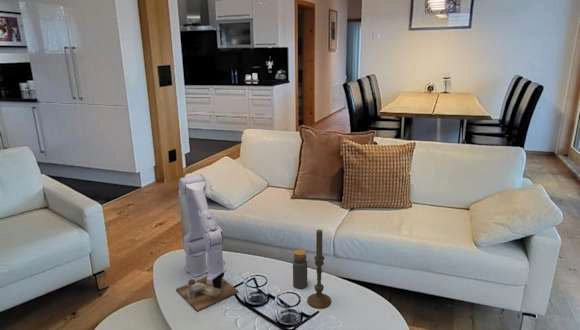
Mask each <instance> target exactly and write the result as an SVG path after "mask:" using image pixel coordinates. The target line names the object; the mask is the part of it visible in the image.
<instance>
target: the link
mask: <svg viewBox="0 0 580 330" xmlns="http://www.w3.org/2000/svg"><path fill="white" fill-rule="evenodd" d="M187 281H188V282H187V284H188V288H190V287H193V286H196V285H198V284H201V283H198V282H195V281H196V280H195V279H193V278H192V279H189V280H187ZM201 285H202V286H203V287H204V289H202V290H200V291H197V292H199V293H202V294H206V295H209V296H212V297H215V298H216V297H218V296H219V295H220V294H221V289H218V288H215V287H212V286H208V285H205V284H201Z"/></svg>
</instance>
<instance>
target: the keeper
mask: <svg viewBox="0 0 580 330" xmlns="http://www.w3.org/2000/svg"><path fill="white" fill-rule="evenodd" d="M202 289H204V287H203V286H202V285H201V284H198V285H196V286H193V287H190V288H187V289H186V291H187V297H188V299H189V300H193V299H195V293H194V292H197V291H200V290H202Z"/></svg>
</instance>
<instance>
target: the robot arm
mask: <svg viewBox="0 0 580 330" xmlns="http://www.w3.org/2000/svg"><path fill="white" fill-rule="evenodd" d="M178 188H179V193H180V196H183V198H184V201H185V207H186V216H187V225H188V232H187V233H186V234H185V235H184V236H183V238H182V239H183V245H182V246H183V251H184V253H185V263H186V267H184V270H185V271H186V272H187V273H188V274H190V275H191V276H192V277H193V278H197V277H199V276H201V275H204V274H207V276H208V277H207V276H206V277H207V279H206V281H207V284H212V283H213V286H214V287H215V288H218V289H221V283H222V279H224V275H225V273H226V272H227V268H225V265H226V260H224V259H223V245H222V243H224V241H225V235H224V233H223V232H224V231H223V230H222V228H221V227H220V225H218V223H217V220H216V217H215V215H214V212H213V211H210V209H209V205H208V202H207V201H208V200H207V198H206V194H205V193H206V189H207V179H206V176H205V175H204V174H203V173H201V174H197V175H191V176H186V177H180V178H179V179H178ZM201 228H202V229H201Z"/></svg>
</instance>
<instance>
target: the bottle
mask: <svg viewBox="0 0 580 330" xmlns="http://www.w3.org/2000/svg"><path fill="white" fill-rule="evenodd" d="M293 252H294V253H293V261H292V286H293V287H294V288H295V289H297V290H303V289H306V288H307V287H308V261H307V254H306V253H307V252H306V250H304V249H302V248H301V249H300V248H299V249H295V250H294V251H293Z"/></svg>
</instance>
